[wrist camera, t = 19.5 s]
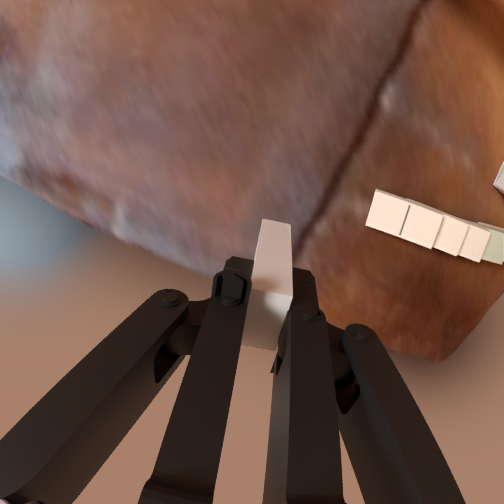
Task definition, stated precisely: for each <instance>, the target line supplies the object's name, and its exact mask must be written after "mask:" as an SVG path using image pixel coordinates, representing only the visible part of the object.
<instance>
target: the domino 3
mask: <svg viewBox="0 0 504 504" xmlns="http://www.w3.org/2000/svg"><path fill="white" fill-rule="evenodd" d="M454 217H455V216H454ZM459 219H460V218H459ZM462 220H463V219H462ZM464 221H465V220H464ZM466 222H467V223H468V224H469V227H468V229H467V232H466V234H465V237H464V240H463V242H462V244H461V247H460V249H459V252H458V254H457V255H460V256H462V257H465V258H468V259H471V260H474V261H476V262H480V260H481V257H482V255H483V252H484V250H485V247H486V245H487V242H488V239H489V236H490V234H491V232H490V231H489V230H488V229H486V228H484V227H481V226H479V225H476V224H473V223H471V222H468V221H466Z"/></svg>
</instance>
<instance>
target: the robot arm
mask: <svg viewBox="0 0 504 504" xmlns="http://www.w3.org/2000/svg"><path fill="white" fill-rule="evenodd" d="M315 285H316V284H315V277H314V276H313V275H312V273H311V272H310V271H308V270H303V269H298V268H293V267H292V252H291V228H290V224H286V223H281V222H276V221H271V220H267V219H263V220H262V224H261V229H260V234H259V239H258V244H257V249H256V254H255V259H254V260H249V259H244V258H239V257H234V256H233V257H231V258H230V259H228V260H227V261H226V264H225V267H224V269H223V271H221V272H219V273H217V274H216V275H215V276H214V279H213V287H212V296H211V298H209V299H206V300H202V301H189V300H188V297H187V296H186V295H185V294H184V293H183V292H181V291H179V290H175V289H163V290H159V291H157V292H156V293H154V294H153V295H152V296H151V297H150V298H149V299H147V300H146V301H145V302H144V303H143V304H142V305H141V306H140V307H138V308H137V309H136V310H135V311H134V312H133V313H132V314H131V315H130V316H129V317H128V318H126V319H125V320H124V321H123V322H122V323H121V324H120V325H119V326H118V327H116V328H115V330H113V331H112V332H111V333H110V334H109V335H108V336H107V337H106V338H105V339H103V340H102V341H101V342H100V343H99V344H98V345H97V346H96V347H95V348H94V349H93V350H92V351H91V352H89V354H87V355H86V356H85V357H84V358H83V359H82V360H81V361H80V362H79V363H78V364H77V365H76V366H75V367H74V368H73V369H72V370H70V372H68V374H66V375H65V376H64V377H63V378H62V379H61V380H60V381H59V382H58V383H57V384H56V385H55V386H54V387H53V388H52V389H51V390H50V391H49V392H48V393H47V394H46V395H45V396H44V397H43V398H42V399H41V400H40V401H39V402H38V403H37V404H36V405H35V406H34V407H32V409H30V410H29V411H28V413H26V414H25V416H24V417H23V418H22V419H21V420H20V421H19V422H18V423H17V424H16V425H15V426H14V427H13V428H12V429H11V430H10V431H9V432H8V433H7V434H6V435H5V436H4V437H3V438H2V439H1V440H0V504H72V503H73V502H74V501H75V500H76V498H77V497H78V496H79V495H80V493H81V492H82V491H83V489H84V488H85V487H86V486H87V484H88V483H89V482H90V481H91V479H92V478H93V477H94V475H95V474H96V473H97V472H98V470H99V469H100V468H101V466H102V465H103V464H104V462H105V461H106V460H107V459H108V458H109V456H110V455H111V454H112V452H113V451H114V450H115V448H116V447H117V446H118V445H119V443H120V442H121V441H122V439H123V438H124V437H125V435H126V434H127V433H128V432H129V430H130V429H131V428H132V426H133V425H134V424H135V423H136V421H137V420H138V419H139V417H140V416H141V415H142V413H143V412H144V411H145V409H146V408H147V407H148V405H149V404H150V403H151V402H152V400H153V399H154V398H155V396H156V395H157V394H158V392H159V391H160V390H161V388H162V387H163V386H164V385H165V383H166V382H167V381H168V379H169V378H170V377H171V375H172V374H173V373H174V371H175V370H176V369H177V367H178V366H179V365H180V363H181V362H182V361H183V359H184V358H185V355H191V356H190V359H189V362H188V365H187V368H186V371H185V374H184V377H183V380H182V383H181V386H180V389H179V392H178V395H177V398H176V402H175V404H174V407H173V410H172V413H171V416H170V420H169V423H168V426H167V429H166V432H165V435H164V438H163V441H162V445H161V448H160V451H159V454H158V457H157V461H156V464H155V467H154V470H153V473H152V475H151V477H150V479H149V480H148V481H146V483H145V485H144V487H143V490H142V492H141V495H140V498H139V501H138V504H212V503H213V496H214V489H215V483H216V478H217V473H218V467H219V462H220V456H221V451H222V445H223V440H224V435H225V429H226V423H227V418H228V413H229V407H230V401H231V396H232V391H233V385H234V379H235V374H236V369H237V363H238V358H239V352H240V346H241V344H242V345H246V346H252V347H257V348H262V349H268V350H274V351H275V350H276V347H277V345H278V352H277V355H276V358H275V361H274V363H273V366H272V369H271V373H273V372H274V376H273V390H272V403H271V417H270V429H269V440H268V453H267V463H266V473H265V483H264V493H263V503H262V504H346V503H345V501H344V498H343V483H342V467H341V466H342V465H341V449H340V436H339V430H340V433H341V436H342V439H343V441H344V444H345V447H346V450H347V453H348V455H349V458H350V461H351V464H352V467H353V469H354V473H355V475H356V478H357V481H358V484H359V487H360V490H361V493H362V496H363V499H364V502H365V504H466V503H465V501H464V499H463V497H462V494H461V492H460V490H459V488H458V485H457V483H456V481H455V479H454V477H453V475H452V473H451V470H450V468H449V466H448V465H447V462H446V460H445V458H444V456H443V454H442V452H441V450H440V448H439V446H438V444H437V442H436V440H435V438H434V436H433V434H432V432H431V430H430V428H429V426H428V424H427V423H426V421H425V419H424V417H423V415H422V413H421V411H420V409H419V407H418V406H417V404H416V402H415V400H414V398H413V397H412V395H411V393H410V391H409V389H408V387H407V386H406V384H405V382H404V381H403V379H402V377H401V375H400V373H399V372H398V370H397V368H396V367H395V365H394V363H393V361H392V360H391V358H390V356H389V354H388V353H387V351H386V349H385V348H384V346H383V344H382V343H381V341H380V339H379V338H378V336H377V334H376V333H375V332H374V331H373V330H372V329H370V328H369V327H367V326H365V325H362V324H356V323H355V324H350V325H349V326H347V327H346V329H345V330H343V329H340V328H338V327H335V326H333V325H331V324H329V323H328V322H326V317H325V315H324V313H323V312H322V311H321V310H320V309H319V305H318V298H317V291H316V286H315Z"/></svg>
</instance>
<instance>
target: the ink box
mask: <svg viewBox="0 0 504 504" xmlns="http://www.w3.org/2000/svg"><path fill="white" fill-rule="evenodd" d="M493 185H494V186H495V187H496V188H497V189H498V190H499V191H500V192H501V193H503V194H504V161H503V163H502V166H501V168H500V170H499V172H498V175H497V177H496V179H495V181H494V183H493Z"/></svg>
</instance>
